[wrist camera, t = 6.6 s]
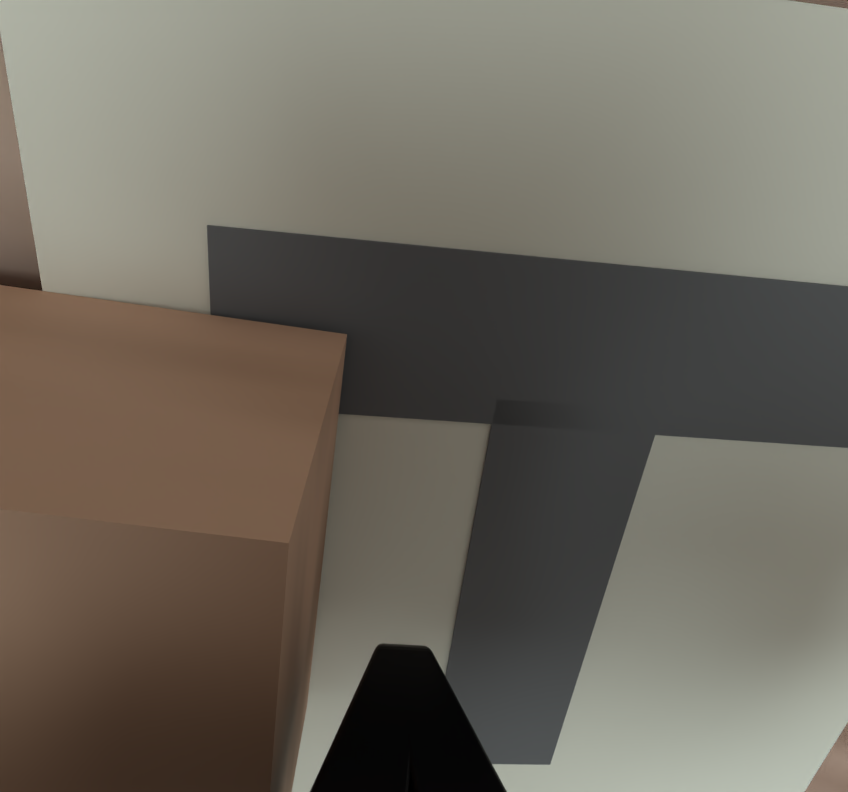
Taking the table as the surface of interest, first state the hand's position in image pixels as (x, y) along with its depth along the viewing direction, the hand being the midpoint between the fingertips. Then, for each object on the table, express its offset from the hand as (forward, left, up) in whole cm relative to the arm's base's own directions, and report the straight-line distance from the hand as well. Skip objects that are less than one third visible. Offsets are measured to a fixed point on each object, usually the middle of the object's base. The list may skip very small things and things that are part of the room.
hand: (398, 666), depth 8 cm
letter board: (0, -2, -3) cm, 4 cm away
